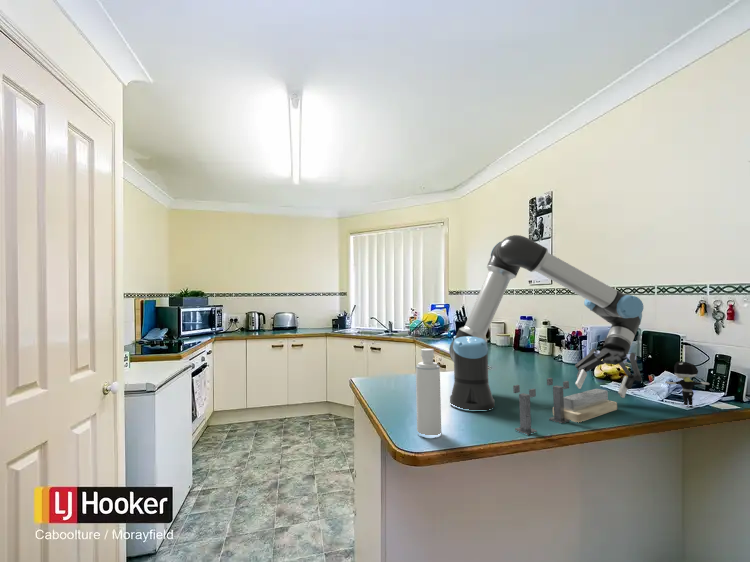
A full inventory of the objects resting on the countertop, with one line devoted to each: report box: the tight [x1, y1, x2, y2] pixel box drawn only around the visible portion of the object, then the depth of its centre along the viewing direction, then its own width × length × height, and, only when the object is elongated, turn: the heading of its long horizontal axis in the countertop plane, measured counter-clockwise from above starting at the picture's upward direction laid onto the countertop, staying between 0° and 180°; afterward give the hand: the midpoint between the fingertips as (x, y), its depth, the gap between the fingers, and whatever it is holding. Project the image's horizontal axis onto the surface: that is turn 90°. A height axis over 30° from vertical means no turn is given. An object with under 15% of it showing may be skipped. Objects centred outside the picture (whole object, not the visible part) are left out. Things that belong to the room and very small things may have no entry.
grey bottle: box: [415, 348, 442, 435], centre depth 95 cm, size 7×7×25 cm
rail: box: [564, 388, 609, 412], centre depth 110 cm, size 4×20×4 cm, turn 120°
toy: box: [664, 360, 710, 406], centre depth 115 cm, size 13×6×15 cm, turn 84°
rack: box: [512, 377, 570, 436], centre depth 99 cm, size 6×20×12 cm, turn 120°
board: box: [552, 399, 618, 424], centre depth 110 cm, size 8×23×2 cm, turn 120°
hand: (598, 390), depth 114 cm, fingers open, 13 cm apart
